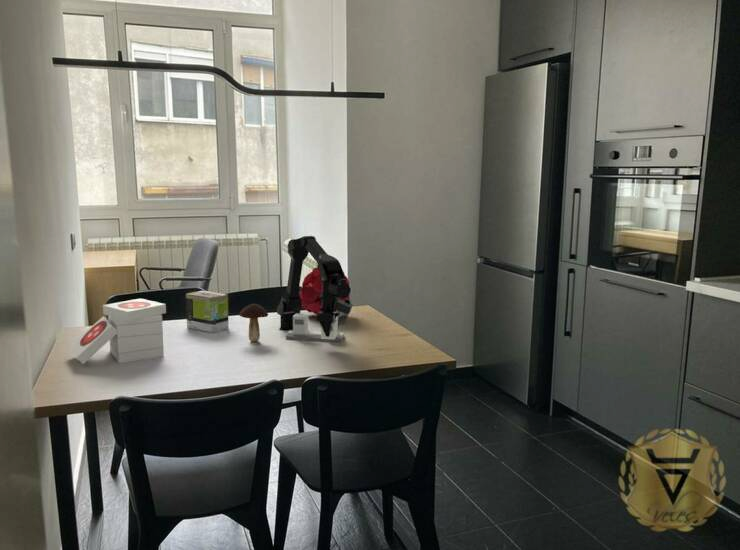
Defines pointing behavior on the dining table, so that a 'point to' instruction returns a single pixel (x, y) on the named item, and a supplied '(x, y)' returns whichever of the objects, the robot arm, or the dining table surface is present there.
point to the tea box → (207, 311)
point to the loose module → (332, 331)
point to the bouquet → (316, 294)
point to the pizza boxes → (125, 332)
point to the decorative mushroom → (253, 319)
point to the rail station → (302, 331)
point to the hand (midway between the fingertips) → (329, 334)
